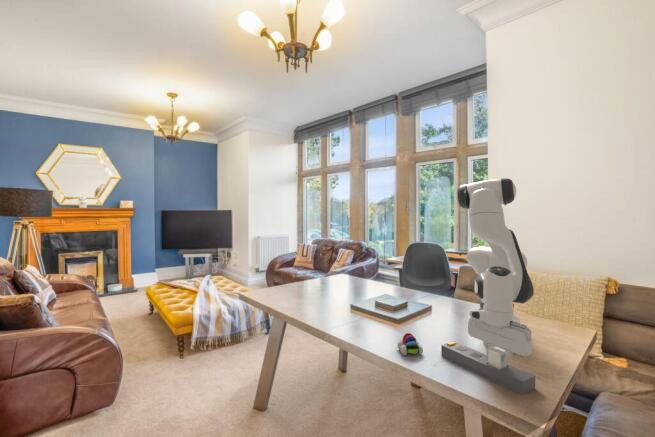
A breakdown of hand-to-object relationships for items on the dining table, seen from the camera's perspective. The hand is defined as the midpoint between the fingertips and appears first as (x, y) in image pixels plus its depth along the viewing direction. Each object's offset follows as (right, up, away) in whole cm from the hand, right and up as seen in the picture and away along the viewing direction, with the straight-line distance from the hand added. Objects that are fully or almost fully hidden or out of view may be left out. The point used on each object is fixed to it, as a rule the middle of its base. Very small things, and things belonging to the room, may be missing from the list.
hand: (497, 358), depth 106 cm
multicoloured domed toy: (-24, -7, +21) cm, 32 cm away
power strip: (-3, -7, +4) cm, 9 cm away
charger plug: (0, -6, 0) cm, 6 cm away
